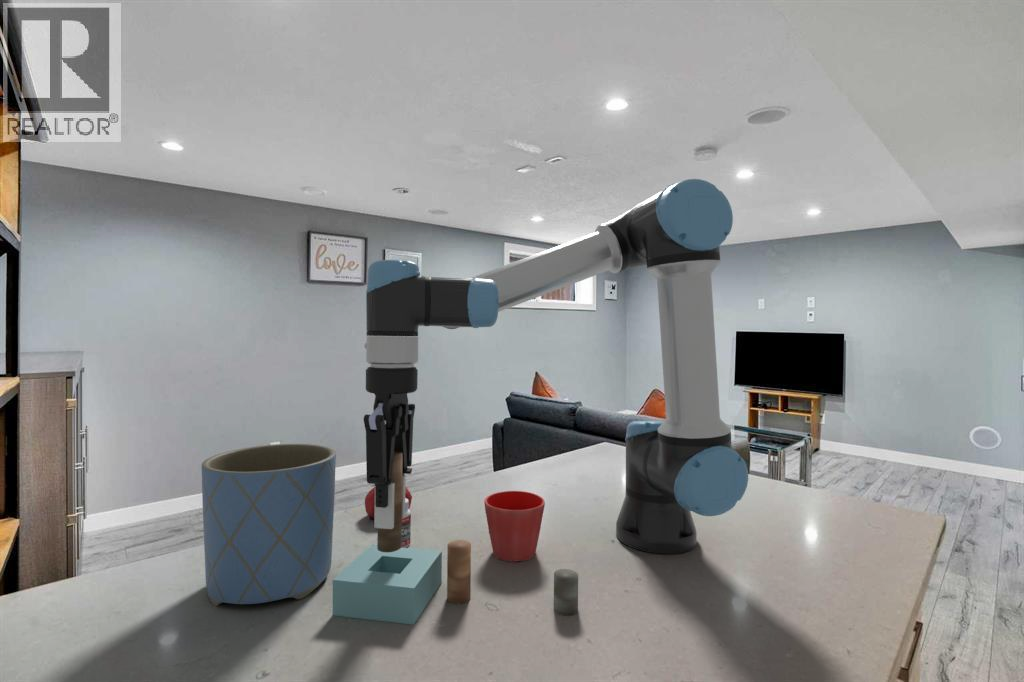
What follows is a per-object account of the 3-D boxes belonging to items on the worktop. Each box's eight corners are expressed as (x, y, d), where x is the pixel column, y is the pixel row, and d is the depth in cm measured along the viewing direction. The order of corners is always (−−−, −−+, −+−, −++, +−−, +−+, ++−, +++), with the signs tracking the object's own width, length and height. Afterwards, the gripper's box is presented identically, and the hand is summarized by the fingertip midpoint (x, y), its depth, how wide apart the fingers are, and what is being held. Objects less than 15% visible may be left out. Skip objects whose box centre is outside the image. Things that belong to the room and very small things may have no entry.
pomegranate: (389, 529, 103) (389, 484, 102) (354, 519, 108) (354, 476, 107) (421, 513, 111) (421, 471, 111) (387, 504, 116) (387, 464, 116)
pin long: (405, 543, 76) (406, 451, 76) (395, 553, 73) (396, 457, 73) (383, 541, 77) (384, 450, 77) (373, 551, 74) (374, 455, 74)
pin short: (578, 603, 74) (578, 570, 74) (577, 616, 71) (577, 581, 71) (554, 601, 75) (555, 567, 75) (552, 614, 71) (552, 579, 71)
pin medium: (473, 593, 77) (473, 540, 77) (467, 605, 73) (467, 550, 73) (451, 590, 77) (451, 539, 77) (444, 602, 74) (444, 548, 74)
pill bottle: (404, 551, 91) (404, 505, 91) (380, 549, 92) (380, 503, 92) (414, 541, 96) (414, 497, 96) (391, 539, 97) (391, 495, 97)
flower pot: (525, 572, 84) (525, 514, 84) (472, 556, 90) (472, 502, 89) (554, 549, 93) (555, 497, 93) (504, 536, 99) (505, 487, 98)
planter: (343, 552, 91) (344, 442, 91) (322, 609, 72) (323, 470, 72) (229, 559, 88) (230, 445, 87) (176, 620, 69) (176, 475, 69)
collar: (441, 582, 80) (441, 551, 80) (413, 624, 68) (414, 588, 68) (371, 575, 82) (371, 544, 82) (332, 615, 70) (332, 579, 70)
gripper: (391, 362, 84) (389, 502, 84) (340, 368, 67) (338, 542, 68) (434, 363, 82) (432, 506, 83) (393, 369, 66) (390, 547, 66)
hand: (390, 522), depth 75 cm, fingers closed on pin long, 3 cm apart
